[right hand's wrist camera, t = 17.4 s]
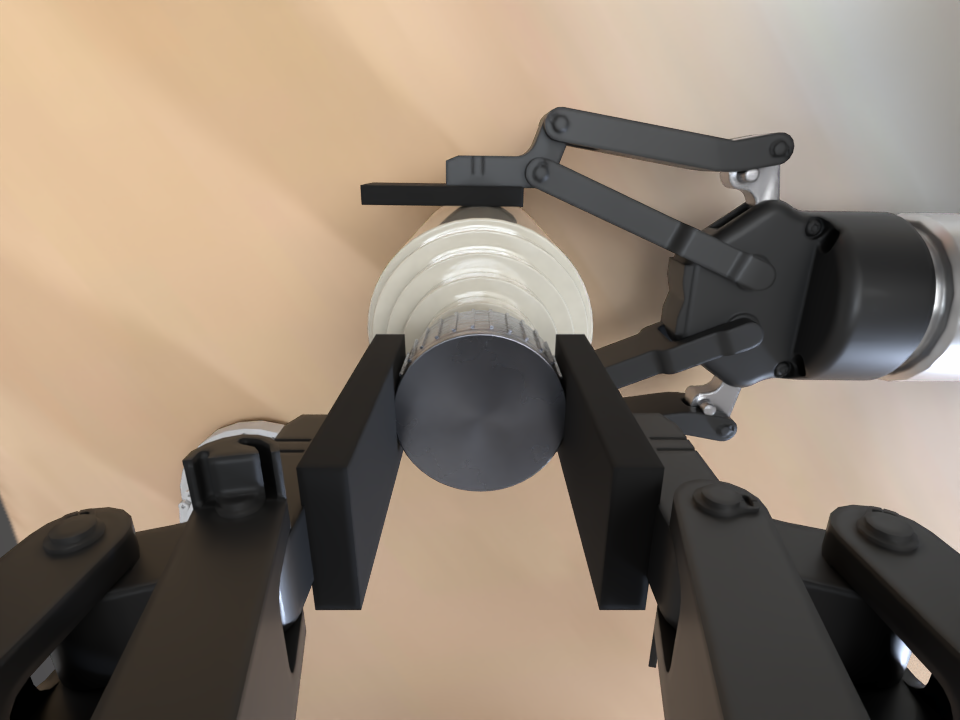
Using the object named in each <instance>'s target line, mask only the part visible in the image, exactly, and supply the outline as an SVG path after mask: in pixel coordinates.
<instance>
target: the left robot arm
mask: <svg viewBox="0 0 960 720" xmlns="http://www.w3.org/2000/svg"><path fill="white" fill-rule="evenodd" d="M566 146H570V147H576V148H581V149H586V150H591V151H596V152H602V153H607V154H612V155H617V156H623V157H628V158H633V159H638V160H643V161H649V162H654V163H659V164H664V165H669V166H675V167H680V168H685V169H690V170H698V171H715V172H720V179H721V182H722V184H723V185H724V186H725V187H727V188H730V189H737V190H740V191H741V192H742V193H743V194H744V196H745V200H746V202H745V203H743V204H742V205H740V206H739V207H737V208H736V209H734V210H733V211H731V212H730V213H728V214H726V215H725V216H723V217H722V218H720V219H719V220H717V221H716V222H714V223H713V224H711V225H710V226H708V227H707V228H705V229H704V230H702V231H700V230H698V229H696V228H694V227H692V226H689V225H687V224H684V223H682V222H680V221H678V220H676V219H674V218H672V217H669V216H667V215H665V214H663V213H661V212H659V211H657V210H655V209H653V208H651V207H649V206H646V205H644V204H642V203H640V202H638V201H636V200H634V199H632V198H630V197H628V196H626V195H623V194H621V193H619V192H617V191H615V190H613V189H611V188H609V187H607V186H605V185H603V184H600V183H598V182H596V181H594V180H592V179H590V178H588V177H586V176H584V175H582V174H580V173H577V172H575V171H573V170H571V169H569V168H567V167H565V166H563V165H561V164H559V163H560V160H561V158H562V155H563V153H564V150H565V148H566ZM793 150H794V142H793V139H792V138H791V136H790V135H788V134H786V133H770V134H759V135H749V136H744V137H738V138H733V139H724V138H719V137H714V136H709V135H704V134H699V133H694V132H688V131H683V130H678V129H673V128H668V127H663V126H658V125H653V124H648V123H643V122H637V121H632V120H627V119H622V118H617V117H612V116H607V115H602V114H597V113H591V112H586V111H581V110H576V109H571V108H566V107H557V108H555V109H553V110H551V111H550V112H548V113H547V114H546V115H544V116H543V118H542V119H541V120H540V123H539V127H538V130H537V132H536V135H535V138H534V140H533V143H532V145H531V147H530V149H529V150H528V151H527V152H526V153H524V154H523V155H520V156H456V157H454V158H451V159H449V160H447V161H446V184H438V183H369V184H364V185H361V202H362V205H421V206H492V207H523V192H524V188H537V189H539V190H541V191H543V192H545V193H547V194H549V195H552V196H554V197H556V198H558V199H560V200H562V201H564V202H567V203H569V204H571V205H573V206H575V207H577V208H579V209H581V210H584V211H586V212H588V213H590V214H592V215H594V216H596V217H599V218H601V219H603V220H605V221H607V222H609V223H611V224H614V225H616V226H618V227H620V228H622V229H624V230H626V231H628V232H631V233H633V234H635V235H637V236H639V237H641V238H643V239H646V240H648V241H650V242H652V243H654V244H656V245H658V246H661V247H663V248H665V249H667V250H669V251H671V252H673V253H675V256H674V257H669V265H668V272H667V275H668V283H669V293H668V295H667V298H666V300H665V303H664V305H663V309H662V317H661V322H658V323H655V324H653V325H650V326H647V327H645V328H643V329H642V330H641V331H640V333H638V334H637V335H634V336H632V337H629V338H626V339H624V340H621V341H618V342H616V343H613V344H610V345H608V346H605V347H602V348H600V349H597V350H594V351H595V352H596V354H597V356H598V357H599V359H600V361H601V362H602V364H603V366H604V367H605V369H606V371H607V372H608V374H609V376H610V377H611V379H612V381H613V382H614V384H615V386H616V387H617V389H619V388H621V387H624V386H627V385H630V384H633V383H635V382H638V381H641V380H644V379H646V378H649V377H652V376H655V375H657V374H674V373H678V372H681V371H683V370H686V369H689V368H692V367H695V366H697V365H700V364H701V365H702V366H703V367H704V368H706V369H707V370H708V371H710V372H711V373H712V374H713V375H714V377H713V379H712V380H711V381H710V382H709V383H707V384H705V385H699V386H689V387H687V389H686V392H685V393H679V392H663V393H654V394H647V395H639V396H632V397H624V398H623V399H624V401H625V402H626V404H627V406H628V407H629V409H630V411H631V412H632V413H660V414H661V415H663V416H665V417H666V418H668V419H669V420H671V421H673V422H674V423H676V424H677V425H678V426H679V428H680V429H681V430H682V432H683V433H684V434H685V435H690V436H696V437H701V438H706V439H712V440H717V441H726V440H729V439H731V438H732V437H733V436H734V435H735V433H736V431H737V425H736V423H735V422H734V421H733V420H732V419H731V418H730V414H731V412H732V410H733V407H734V405H735V402H736V400H737V397H738V395H739V392H740V390H741V387H748V386H751V385H753V384H755V383H757V382H760V381H762V380H765V379H769V378H785V379H798V380H873V379H881V380H886V381H960V213H899V214H896V215H895V214H892V213H888V212H847V211H799V210H797V209H795V208H793V207H791V206H790V205H789V204H787V203H786V202H783V201H781V200H779V195H780V164H782V163H785V162H786V161H787V160H788V159H789V158H790V157H791V155H792V153H793ZM556 452H558V451H556Z"/></svg>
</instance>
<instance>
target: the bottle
mask: <svg viewBox="0 0 960 720" xmlns="http://www.w3.org/2000/svg"><path fill="white" fill-rule="evenodd" d="M472 309H475V310H486V311H489V309H492V311H495V312H500V313H503V314H506V313H509V315H510V316H512V317H514V318H516V319H518V320H520V321H521V320H524V321H525V324H526V325H528V326H529V327H530V328H532V329H533V330H535V329H536V330H537V331H538V334H539V336H540V337H541V338H542V339H543V341H544V342H546V341H547V343H548V345H549V348H550V350H551V353H552V356H553V355H554V356H555V341H556V334H585V336H586V337H587V339H588V341H589V342H590V344H591V342H592V333H593V318H592V309H591V304H590V300H589V296H588V293H587V290H586V288H585V285H584V283H583V281H582V279H581V277H580V275H579V273H578V271H577V270H576V268H575V267H574V266H573V264H572V263H571V261H570V260H569V259H568V257H567V256H566V255H565V254H564V253H563V252H562V251H561V250H560V249H559V248H558V246H557V245H556V244H555V243H554V242H553V241H552V240H551V239H550V238H549V237H548V235H547V234H546V233H545V232H544V231H543V230H542V229H541V228H540V227H539V226H538V224H537V223H536V222H535V221H534V220H533V219H532V218H531V217H530V216H529V215H528V214H527V213H526V212H525V211H524V210H522V209H521V208H520V207H492V206H442V207H441V208H439V209H438V210H437V211H436V212H434V213H433V214H432V215H431V216H430V217H429V218H428V219H427V221H426V222H425V223H424V224H423V225H422V226H421V227H420V228H419V229H418V231H417V232H416V233H415V234H414V235H413V236H412V237H411V238H410V239H409V241H408V242H407V243H406V244H405V245H404V246H403V247H402V248H401V249H400V250H399V252H398V253H397V254H396V255H395V256H394V257H393V258H392V259H391V261H390V262H389V263H388V265H387V266H386V268H385V269H384V271H383V272H382V274H381V276H380V278H379V280H378V282H377V284H376V286H375V289H374V292H373V295H372V298H371V302H370V307H369V312H368V338H369V345H370V343H371V342H372V340H373V338H374V337H375V335H376V334H405V349H406V355H407V353H410V352H411V349H412V346H413V344H414V341H415V340H416V339H417V340H418V339H419V338H420V337H421V336H422V335H423V333H424V332H425V329H426V328H427V327H428V328H430V327H431V326H433V325H434V324H436V323H437V322H438V321H439V319H440V318H442V319H445V318H447V317H449V316H451V315H454V314H455V312H458V313H461V312H466V311H472Z"/></svg>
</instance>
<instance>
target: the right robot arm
mask: <svg viewBox="0 0 960 720" xmlns="http://www.w3.org/2000/svg"><path fill="white" fill-rule="evenodd" d="M405 358H406V349H405V334H376V335H375V337H374V338H373V340H372V342H371V343H370V345H369V347H368V348H367V350H366V352H365V353H364V355H363V357H362V358H361V360H360V362H359V363H358V365H357V367H356V368H355V370H354V372H353V373H352V375H351V377H350V378H349V380H348V382H347V383H346V385H345V387H344V388H343V390H342V392H341V393H340V395H339V397H338V398H337V400H336V402H335V403H334V405H333V407H332V408H331V410H330V412H329V413H328V415H301V416H299V417H298V418H296V419H294V420H293V421H291V422H290V423H288V424H286V425H285V426H284V427H283V428H282V429H281V431H280V432H279V433H278V435H277V436H276V438H275V439H272V438H271V437H267V436H262V435H258V434H252V435H236V436H230V437H224V438H221V439H218V440H215V441H212V442H209V443H206V444H204V445H202V446H200V447H199V448H197V449H195V450H193V451H191V452H190V453H189V454H188V455H187V456H186V457H185V458H184V459H183V460H182V461H183V466H184V470H185V475H186V479H187V484H188V488H189V493H190V497H191V502H192V507H193V511H192V513H191V515H190V517H189V519H188V521H187V522H183V523H179V524H175V525H171V526H165V527H160V528H155V529H150V530H145V531H140V532H135V529H134V525H133V522H132V518H131V516H130V515H129V514H128V513H127V512H125V511H124V510H122V509H116V508H110V507H106V508H95V509H85V510H80V512H78V511H76V512H73V513H70V514H67V515H65V516H63V517H62V518H59V519H57V520H55V521H52V522H50V523H48V524H46V525H44V526H43V527H41V528H40V529H38V530H37V531H35V532H33V533H32V534H30V535H29V536H28V537H26V538H25V539H24V540H23V541H21V542H20V543H19V544H17V545H16V546H15V547H14V548H12V549H11V550H10V551H9V552H7V553H6V554H5V555H4V556H2V557H1V558H0V720H295V719H296V711H297V702H298V694H299V686H300V678H301V670H302V661H303V653H304V645H305V637H306V626H305V619H304V612H303V606H304V604H305V601H306V598H307V596H308V593H309V591H310V588H311V586H312V588H313V595H314V603H315V610H361V608H362V604H363V601H364V597H365V593H366V589H367V586H368V582H369V578H370V574H371V570H372V567H373V563H374V559H375V555H376V552H377V548H378V544H379V540H380V536H381V533H382V529H383V525H384V521H385V517H386V514H387V510H388V506H389V502H390V499H391V495H392V491H393V487H394V483H395V480H396V476H397V472H398V468H399V465H400V461H401V457H402V453H403V448H402V447H401V445H400V442H399V440H398V438H397V432H396V416H395V393H396V390H397V386H398V383H399V381H400V378H401V377H399V374H400V371H401V368H402V366H403V363H404V360H405ZM555 358H556V361H557V364H558V366H559V369H560V371H561V374H562V377H563V379H562V380H561V381H562V384H563V387H564V390H565V393H566V409H565V426H564V437H563V440H562V442H561V444H560V446H559V448H558V449H557V451H558V455H559V458H560V462H561V466H562V470H563V474H564V477H565V481H566V485H567V489H568V492H569V496H570V500H571V504H572V508H573V511H574V515H575V519H576V523H577V527H578V530H579V534H580V538H581V542H582V545H583V549H584V553H585V557H586V561H587V564H588V568H589V572H590V576H591V579H592V583H593V587H594V591H595V595H596V598H597V602H598V606H599V610H645V607H646V600H647V593H648V585H649V584H650V587H651V589H652V592H653V594H654V597H655V599H656V602H657V604H658V605H657V612H656V619H655V626H654V632H653V639H652V646H651V653H650V660H649V667H655V668H656V664H657V660H658V668H659V677H660V685H661V693H662V701H663V709H664V717H665V720H960V554H959V553H958V552H957V551H955V550H954V549H953V548H951V547H950V546H949V545H948V544H946V543H945V542H944V541H943V540H941V539H940V538H939V537H937V536H936V535H935V534H934V533H932V532H931V531H929V530H928V529H926V528H924V527H923V526H921V525H920V524H918V523H916V522H915V521H913V520H910V519H908V518H906V517H903V516H901V515H899V514H898V513H896V512H894V511H890V510H887V509H884V510H883V509H881V508H879V507H874V506H860V505H849V506H843V507H838V508H837V509H836V510H834V511H833V512H832V513H831V514H830V517H829V521H828V525H827V528H826V530H823V529H818V528H813V527H808V526H803V525H797V524H792V523H787V522H783V521H779V520H775V519H772V518H771V516H770V514H769V512H768V510H767V508H766V507H765V506H764V504H763V503H762V502H761V501H760V500H759V498H757V497H756V496H754V495H753V494H751V493H750V492H748V491H747V490H745V489H742V488H740V487H737V486H735V485H732V484H730V483H726V482H721V481H719V480H718V479H717V477H716V476H715V475H714V473H713V472H712V471H711V469H710V468H709V467H708V465H707V464H706V463H705V461H704V460H703V459H702V457H701V456H700V455H699V453H698V452H697V451H695V448H694V446H693V445H692V444H691V442H690V441H689V440H687V439H686V438H687V437H686V436H685V434H684V433H683V432H682V430H681V429H680V428H679V426H678V425H677V424H676V423H674V422H673V421H671V420H669V419H668V418H666V417H665V416H663V415H661V414H660V413H632V412H631V411H630V409H629V407H628V406H627V404H626V402H625V401H624V399H623V397H622V396H621V394H620V392H619V391H618V389H617V387H616V386H615V384H614V382H613V381H612V379H611V377H610V376H609V374H608V372H607V371H606V369H605V367H604V366H603V364H602V362H601V361H600V359H599V357H598V356H597V354H596V352H595V351H594V349H593V347H592V346H591V344H590V342H589V341H588V339H587V337H586V336H585V334H556V341H555ZM912 653H913V654H914V655H915V656H916V657H917V658H918V659H919V660H920V661H921V662H922V663H923V664H924V666H925V667H926V668H927V669H928V670H929V671H930V672H931V673H932V674H931V677H930V679H929V682H928V683H927V685H924V684H923V683H922V682H920V681H919V680H918V679H917V678H916V677H915V676H914V675H913V674H912V673H911V671H910V670H909V669H908V668H907V664H908V662H909V659H910V656H911V654H912ZM49 655H50V657H51V659H52V662H53V664H54V667H55V670H54V671H53V672H52V673H51V674H50V675H49V677H48V678H47V679H46V680H45V681H43V682H42V683H41V684H40V685H39V686H37V687H35V686H34V685H33V682H32V680H31V677H30V676H31V675H32V674H33V673H34V672H35V671H36V669H37V668H38V667H39V666H40V665H41V664H42V663H43V662H44V661H45V660H46V658H47V657H48V656H49Z"/></svg>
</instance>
